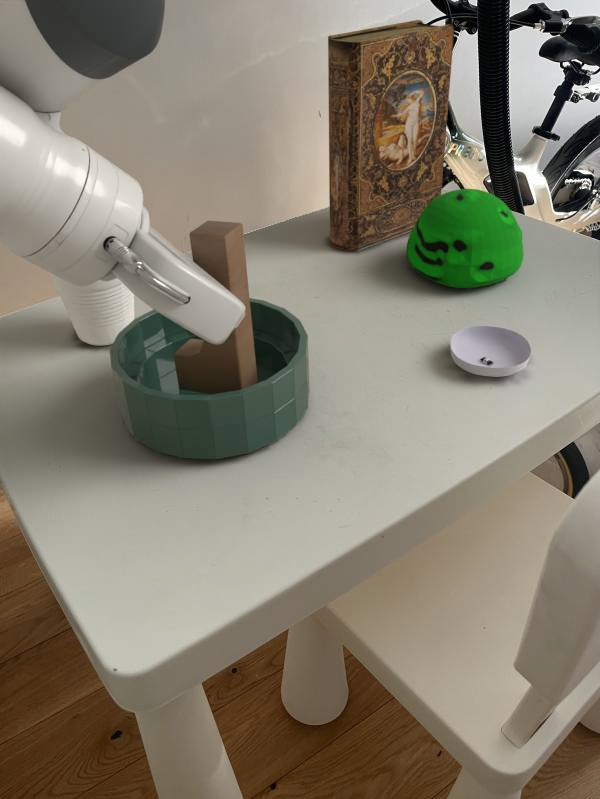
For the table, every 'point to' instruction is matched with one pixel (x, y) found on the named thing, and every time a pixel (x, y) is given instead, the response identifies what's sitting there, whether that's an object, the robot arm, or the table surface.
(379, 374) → the table surface
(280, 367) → the bowl
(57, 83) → the robot arm
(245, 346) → the wooden block
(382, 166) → the book
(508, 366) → the white shallow round dish
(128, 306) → the cup
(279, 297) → the table surface
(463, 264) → the toy
